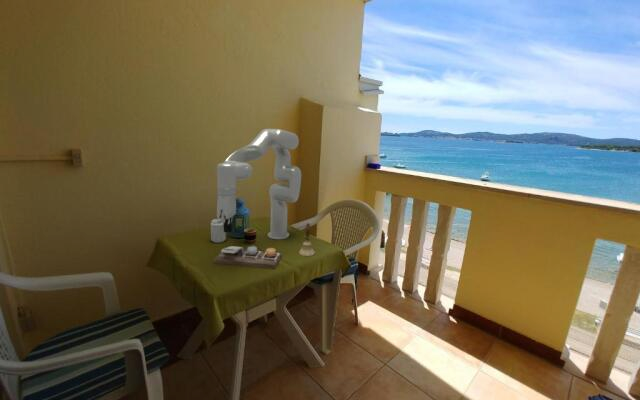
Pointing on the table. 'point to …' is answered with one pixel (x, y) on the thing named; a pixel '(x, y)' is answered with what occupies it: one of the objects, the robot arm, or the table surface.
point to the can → (217, 231)
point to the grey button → (251, 250)
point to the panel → (248, 259)
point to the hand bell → (307, 244)
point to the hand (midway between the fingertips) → (227, 231)
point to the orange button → (270, 252)
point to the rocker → (231, 249)
